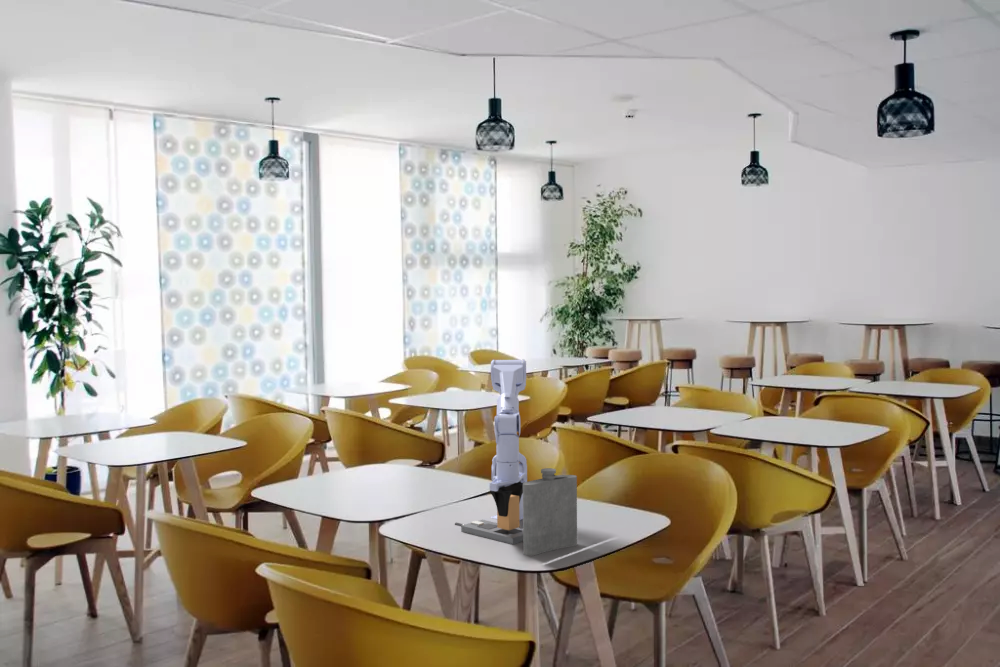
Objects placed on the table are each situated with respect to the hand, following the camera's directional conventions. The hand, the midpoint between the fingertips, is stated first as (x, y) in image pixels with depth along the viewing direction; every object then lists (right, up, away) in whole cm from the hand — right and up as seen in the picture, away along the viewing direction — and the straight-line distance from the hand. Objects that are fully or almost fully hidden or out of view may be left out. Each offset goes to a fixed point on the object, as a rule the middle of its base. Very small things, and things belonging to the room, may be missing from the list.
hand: (508, 513), depth 227 cm
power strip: (-5, -6, +5) cm, 10 cm away
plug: (0, -4, 0) cm, 3 cm away
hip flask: (+10, -7, -10) cm, 16 cm away
